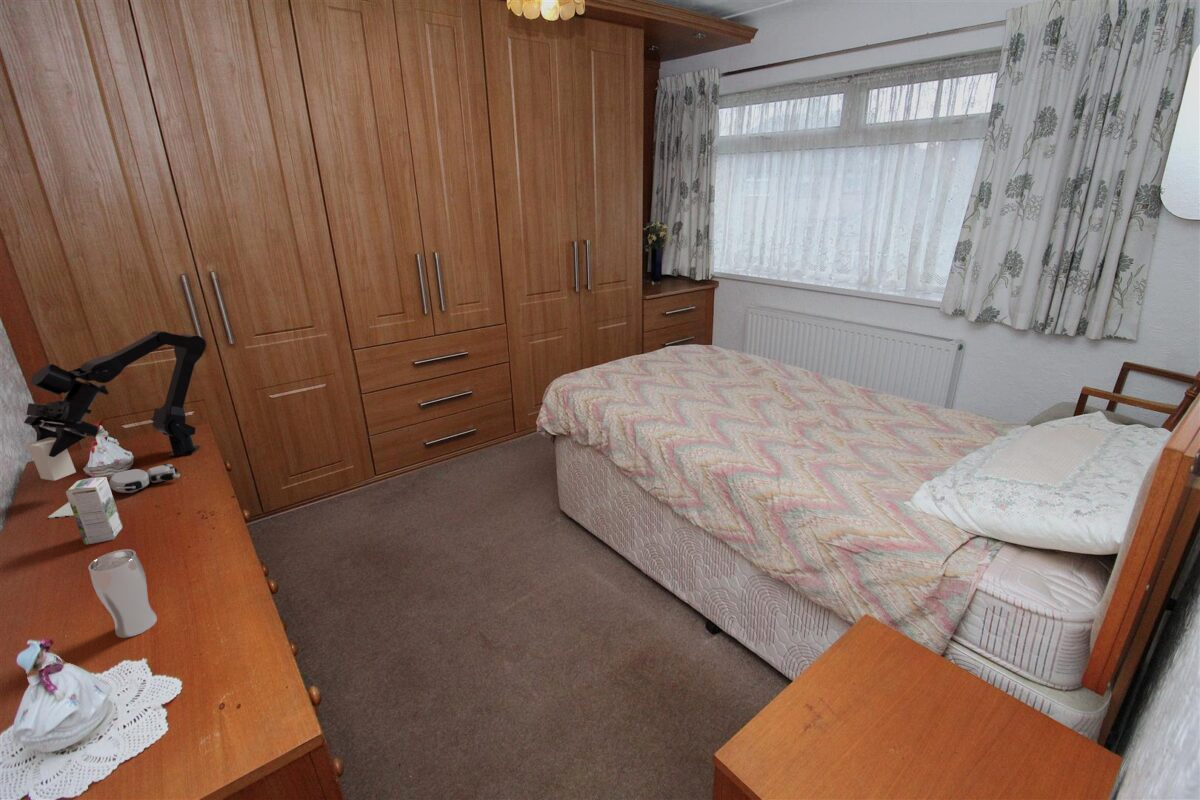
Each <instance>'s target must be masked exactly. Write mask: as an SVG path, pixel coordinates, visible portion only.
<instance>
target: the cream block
mask: <svg viewBox="0 0 1200 800" xmlns="http://www.w3.org/2000/svg"><path fill="white" fill-rule="evenodd" d="M56 439H57V438H53V437H49V438H46V439H43V440H40V441H37V442H36V441H35V442H31V443H28V444H27V447H28V448H27V449H28V450H29V453H30V454H31V457H32V460H33V462H34V465H35V467H36V469H37V471H38V475H39V477H40V479H41V480H47V481H58V480H60V479H63V478H65V477H67V476H70V475H73V474H75V473H77V470H76V468H75V466H74V463H73V461H72V458H71V455H70V453H69V450H68V448H67V449H65V450H64V451H62V452H61V453H59V454H58V455H56V456H55V457H51V456H49V454H50V451H51V449H52V447H53V445H54V443H55V441H56Z"/></svg>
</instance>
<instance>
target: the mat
mask: <svg viewBox="0 0 1200 800" xmlns="http://www.w3.org/2000/svg"><path fill="white" fill-rule="evenodd" d="M65 516H69V517H74V514H73V511H72V509H71V506H70V503H69V501H68V502H67V503H65V504H64V505H63V506H61V507H60V508H58V509H56V511H54V512H53V513H51V514H50V515H48V516H47V519H48V518H49V519H56V518H55V517H59V518H66V517H65Z"/></svg>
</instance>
